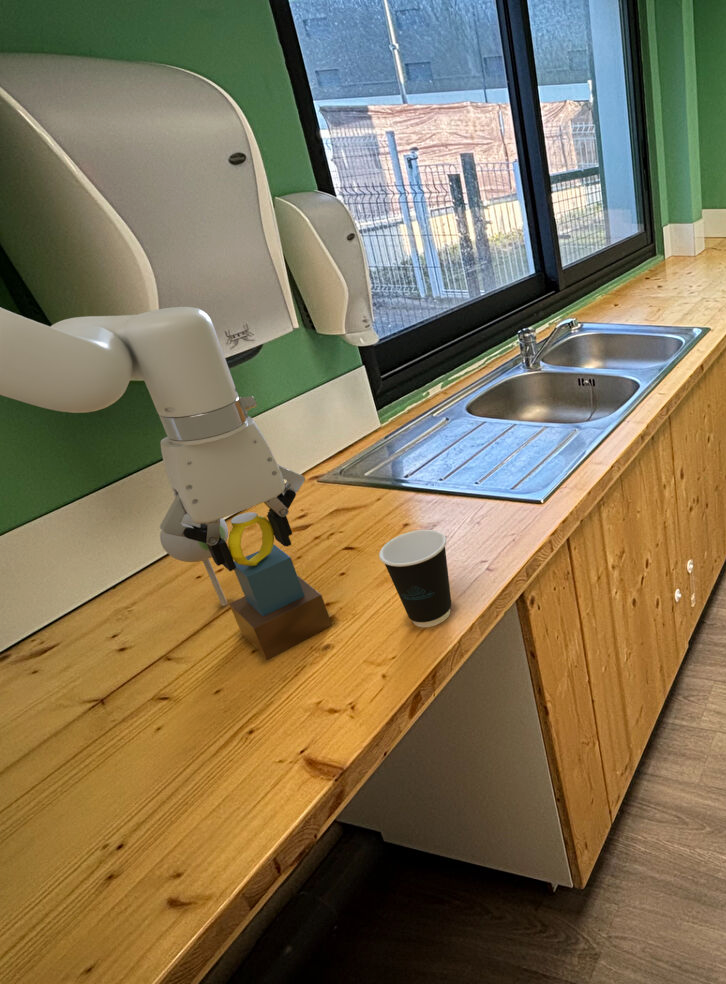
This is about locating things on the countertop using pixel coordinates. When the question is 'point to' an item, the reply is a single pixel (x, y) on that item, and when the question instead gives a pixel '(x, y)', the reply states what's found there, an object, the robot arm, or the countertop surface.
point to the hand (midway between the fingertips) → (256, 553)
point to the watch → (236, 534)
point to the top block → (269, 582)
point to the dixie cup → (420, 575)
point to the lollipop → (194, 551)
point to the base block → (282, 622)
